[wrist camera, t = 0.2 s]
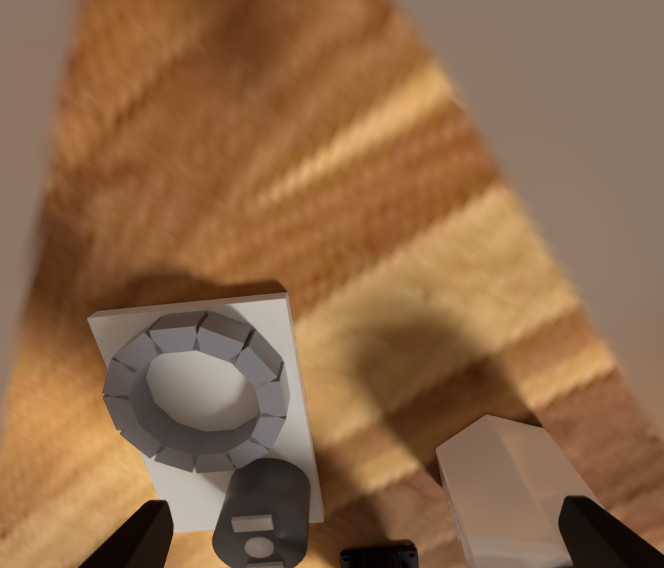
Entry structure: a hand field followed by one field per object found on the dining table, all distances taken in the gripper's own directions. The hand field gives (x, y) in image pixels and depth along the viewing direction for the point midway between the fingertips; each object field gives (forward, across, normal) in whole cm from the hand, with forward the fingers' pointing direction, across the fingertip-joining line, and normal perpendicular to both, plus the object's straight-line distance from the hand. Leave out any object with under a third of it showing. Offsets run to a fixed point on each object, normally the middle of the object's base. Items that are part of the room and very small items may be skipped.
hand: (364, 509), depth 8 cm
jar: (+15, -11, +14) cm, 23 cm away
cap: (+13, +6, +16) cm, 21 cm away
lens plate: (+14, +9, +10) cm, 20 cm away
